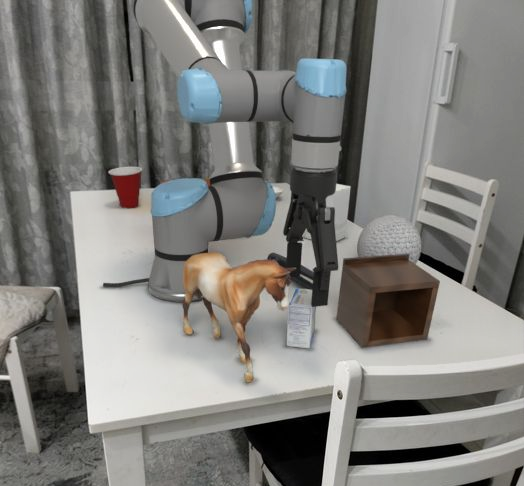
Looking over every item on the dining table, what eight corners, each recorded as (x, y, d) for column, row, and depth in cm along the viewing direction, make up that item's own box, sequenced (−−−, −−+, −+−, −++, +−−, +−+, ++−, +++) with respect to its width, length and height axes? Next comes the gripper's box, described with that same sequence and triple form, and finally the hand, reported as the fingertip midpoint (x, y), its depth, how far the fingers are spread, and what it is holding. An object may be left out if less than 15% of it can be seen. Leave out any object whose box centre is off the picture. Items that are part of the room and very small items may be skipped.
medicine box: (309, 349, 96) (313, 307, 92) (285, 346, 97) (288, 304, 93) (314, 330, 103) (318, 289, 99) (292, 327, 104) (294, 287, 100)
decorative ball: (374, 292, 120) (384, 228, 113) (342, 269, 132) (349, 210, 125) (428, 284, 125) (440, 222, 118) (392, 263, 137) (401, 205, 130)
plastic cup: (111, 202, 179) (107, 166, 173) (143, 201, 182) (140, 165, 176) (113, 211, 170) (108, 172, 164) (146, 209, 173) (144, 171, 167)
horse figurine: (290, 384, 86) (299, 266, 76) (251, 398, 82) (255, 276, 72) (199, 312, 108) (197, 213, 98) (165, 321, 104) (158, 219, 94)
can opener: (259, 274, 127) (260, 252, 125) (280, 268, 131) (281, 246, 129) (310, 299, 116) (312, 275, 113) (332, 291, 120) (334, 268, 117)
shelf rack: (361, 347, 98) (371, 282, 91) (336, 319, 108) (343, 258, 101) (427, 339, 102) (441, 275, 95) (396, 312, 111) (407, 253, 105)
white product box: (320, 231, 159) (325, 180, 152) (345, 237, 154) (352, 186, 147) (303, 237, 153) (307, 185, 145) (329, 245, 148) (334, 191, 141)
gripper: (370, 183, 75) (353, 317, 85) (308, 154, 96) (300, 264, 106) (321, 185, 73) (310, 322, 84) (269, 155, 94) (265, 267, 104)
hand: (305, 290), depth 95 cm, fingers open, 13 cm apart
